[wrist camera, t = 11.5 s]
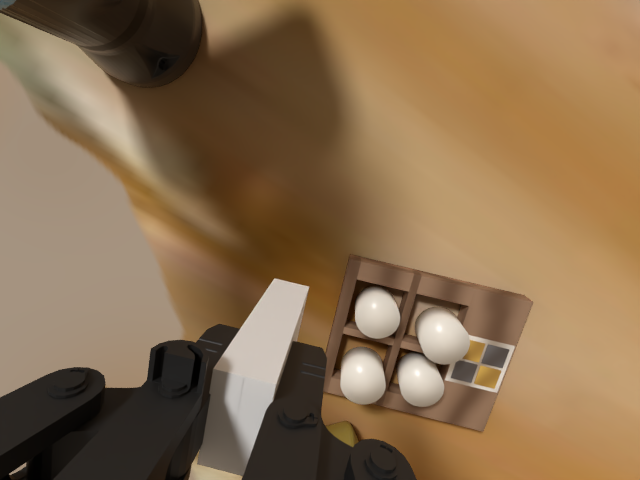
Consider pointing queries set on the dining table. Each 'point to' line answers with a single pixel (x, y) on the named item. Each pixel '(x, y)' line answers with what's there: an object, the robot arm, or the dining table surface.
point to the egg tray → (459, 378)
